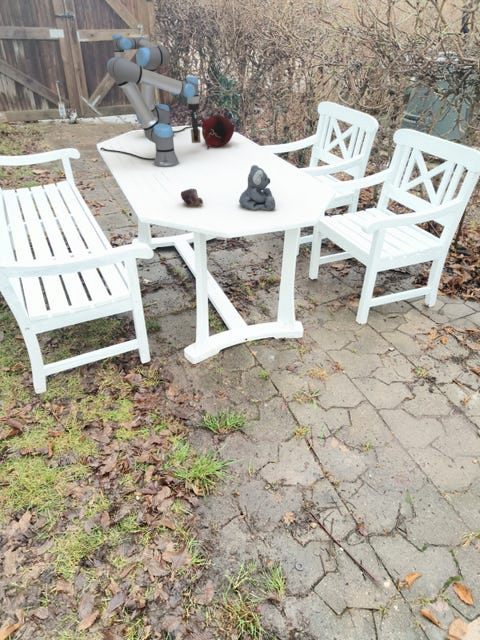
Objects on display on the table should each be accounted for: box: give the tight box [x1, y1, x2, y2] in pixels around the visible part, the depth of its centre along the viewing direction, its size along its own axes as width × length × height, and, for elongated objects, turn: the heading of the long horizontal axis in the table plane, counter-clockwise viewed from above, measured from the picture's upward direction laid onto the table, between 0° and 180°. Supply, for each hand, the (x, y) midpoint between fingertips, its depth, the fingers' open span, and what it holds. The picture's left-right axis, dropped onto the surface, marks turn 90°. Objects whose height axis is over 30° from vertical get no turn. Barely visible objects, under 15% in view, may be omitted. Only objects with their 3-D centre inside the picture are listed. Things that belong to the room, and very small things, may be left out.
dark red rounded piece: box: [200, 114, 235, 150], centre depth 329 cm, size 21×24×25 cm
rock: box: [180, 188, 204, 207], centre depth 229 cm, size 12×9×10 cm
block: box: [190, 128, 202, 144], centre depth 310 cm, size 6×5×8 cm
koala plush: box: [238, 164, 276, 211], centre depth 224 cm, size 17×18×20 cm
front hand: (195, 139), depth 311 cm, fingers closed on block, 5 cm apart
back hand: (124, 88), depth 359 cm, fingers open, 13 cm apart
